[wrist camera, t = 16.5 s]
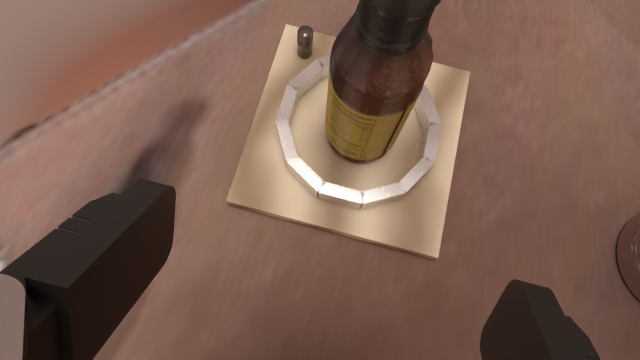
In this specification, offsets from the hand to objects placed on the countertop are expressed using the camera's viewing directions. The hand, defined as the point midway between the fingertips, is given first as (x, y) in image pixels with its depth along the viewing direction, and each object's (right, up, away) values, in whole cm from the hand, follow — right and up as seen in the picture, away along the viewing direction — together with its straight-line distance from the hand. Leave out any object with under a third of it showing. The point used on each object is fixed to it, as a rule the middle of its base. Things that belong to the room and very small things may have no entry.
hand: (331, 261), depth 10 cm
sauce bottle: (+3, +6, +27) cm, 28 cm away
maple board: (+3, +6, +29) cm, 29 cm away
